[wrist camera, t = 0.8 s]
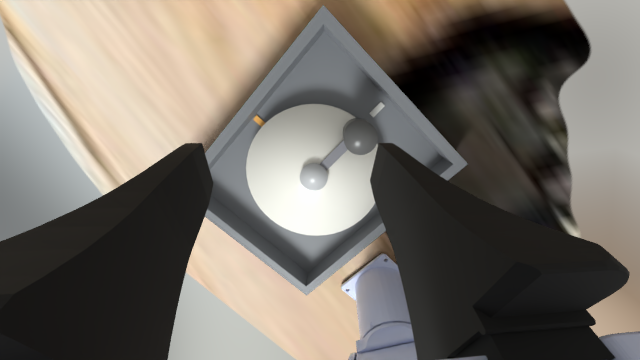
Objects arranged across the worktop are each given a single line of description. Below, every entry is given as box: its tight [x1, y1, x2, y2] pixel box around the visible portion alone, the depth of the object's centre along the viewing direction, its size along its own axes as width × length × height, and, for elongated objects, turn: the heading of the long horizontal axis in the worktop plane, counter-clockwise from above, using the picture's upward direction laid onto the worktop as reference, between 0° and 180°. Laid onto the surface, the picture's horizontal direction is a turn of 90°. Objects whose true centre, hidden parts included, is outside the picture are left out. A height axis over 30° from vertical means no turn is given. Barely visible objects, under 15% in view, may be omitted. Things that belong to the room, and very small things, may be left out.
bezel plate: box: [205, 5, 467, 295], centre depth 28 cm, size 20×24×4 cm
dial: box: [246, 104, 378, 236], centre depth 26 cm, size 16×15×5 cm
